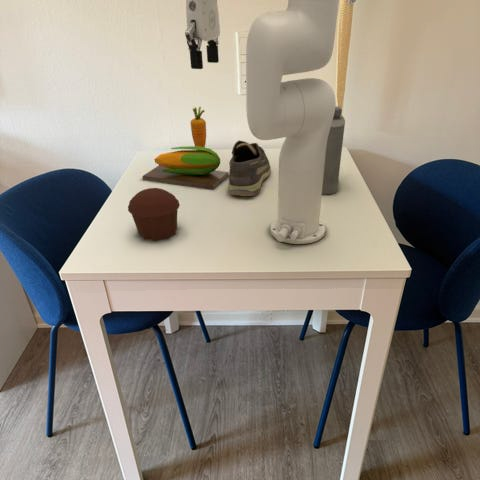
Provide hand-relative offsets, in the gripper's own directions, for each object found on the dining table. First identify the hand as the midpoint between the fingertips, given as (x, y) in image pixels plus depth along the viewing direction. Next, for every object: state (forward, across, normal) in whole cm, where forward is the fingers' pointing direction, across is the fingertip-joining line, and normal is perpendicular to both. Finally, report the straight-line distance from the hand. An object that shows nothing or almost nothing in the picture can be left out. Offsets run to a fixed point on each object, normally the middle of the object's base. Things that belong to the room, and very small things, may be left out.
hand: (205, 65), depth 117 cm
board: (+28, -8, +5) cm, 30 cm away
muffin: (+28, -41, -5) cm, 50 cm away
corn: (+27, -7, +5) cm, 29 cm away
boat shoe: (+28, -3, -14) cm, 32 cm away
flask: (+28, 0, -36) cm, 46 cm away
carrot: (+28, +12, +10) cm, 32 cm away
